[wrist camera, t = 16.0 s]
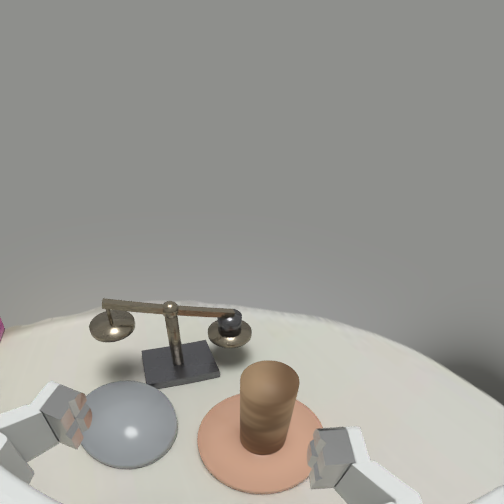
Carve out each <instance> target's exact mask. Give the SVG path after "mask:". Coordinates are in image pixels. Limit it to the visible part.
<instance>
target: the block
mask: <svg viewBox="0 0 504 504" xmlns="http://www.w3.org/2000/svg"><path fill="white" fill-rule="evenodd" d="M298 388H299V377H298V375H297V373H296V372H295V371H294V370H293V369H292V368H291V367H289V366H288V365H286V364H284V363H281V362H277V361H260V362H256V363H254V364H251V365H250V366H248V367H247V368H246V369H245V370H244V371H243V373H242V375H241V378H240V441H241V444H242V446H243V447H244V448H245V449H246V450H247V451H249V452H251V453H253V454H256V455H270V454H273V453H276V452H277V451H279V450H280V449H281V448H282V447H283V445H284V444H285V441H286V437H287V433H288V429H289V425H290V421H291V417H292V413H293V409H294V405H295V401H296V397H297V392H298Z"/></svg>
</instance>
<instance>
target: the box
mask: <svg viewBox="0 0 504 504" xmlns="http://www.w3.org/2000/svg"><path fill="white" fill-rule="evenodd" d="M4 330H5V328H4V326H3V323H2V321H1V318H0V341H1V338H2V336H3V333H4Z"/></svg>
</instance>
